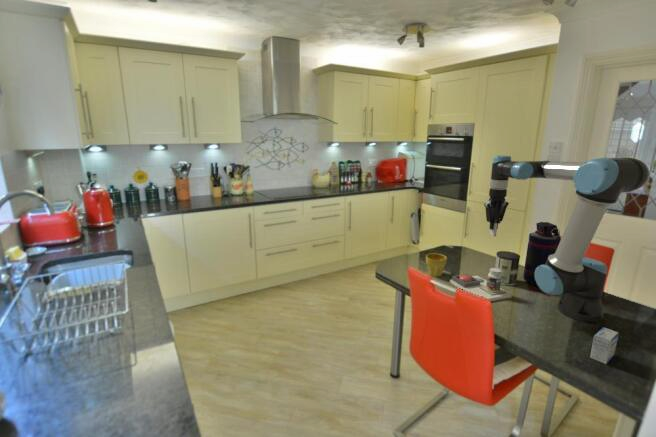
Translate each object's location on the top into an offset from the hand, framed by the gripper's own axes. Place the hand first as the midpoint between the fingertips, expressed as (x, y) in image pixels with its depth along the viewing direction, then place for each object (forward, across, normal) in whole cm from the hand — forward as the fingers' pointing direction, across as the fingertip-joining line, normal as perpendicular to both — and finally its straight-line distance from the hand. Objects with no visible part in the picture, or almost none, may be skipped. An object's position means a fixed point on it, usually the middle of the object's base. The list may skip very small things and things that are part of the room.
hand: (492, 235), depth 168 cm
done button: (+21, +17, +4) cm, 27 cm away
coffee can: (+23, -5, +6) cm, 24 cm away
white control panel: (+22, +14, +10) cm, 28 cm away
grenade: (+23, -20, +12) cm, 32 cm away
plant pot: (+23, +23, -12) cm, 34 cm away
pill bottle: (+21, +11, +15) cm, 28 cm away
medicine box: (+23, +11, +63) cm, 68 cm away
